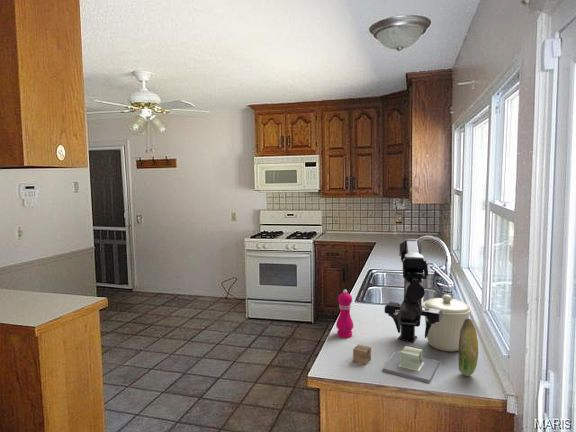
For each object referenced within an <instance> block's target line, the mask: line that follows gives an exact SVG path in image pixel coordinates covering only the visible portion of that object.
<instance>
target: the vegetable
mask: <svg viewBox="0 0 576 432" xmlns="http://www.w3.org/2000/svg"><path fill="white" fill-rule="evenodd" d="M457 352H458V370H459V373H460V374H461V375H463V376H465V377H469V376H472V375H473V374H474V373H475V371H476V368H477V365H478V359H479V338H478V334H477V329H476V327H475V325H474V322H473V320H472V319H471V318H470V317H469V318H466V319H465V320H464V323H463V325H462V327H461V330H460V338H459V349H458V351H457Z"/></svg>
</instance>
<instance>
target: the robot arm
mask: <svg viewBox="0 0 576 432" xmlns="http://www.w3.org/2000/svg"><path fill="white" fill-rule="evenodd" d="M398 249H399V250H398V251H399V252H398V256H400V262H401V263H402V278H403V301H401V304H400V303H399V302H395V301H394V302H393V301H390V302H388V303H387V304H386V305H385V306H384V310H383V311H384V313H385V314H387V316H389V317H391V318H392V320H393V322H394V325H395V329H396V330H397V333H398V334H400V335H399V336H398V337H397V340H399V341H405V342H410V343H414V342H415V341H416V340H417V338H418V335H415V334H416V327H419V326H421V318H422V317H425V316H427V320H426V322H425V328H424V329H425V330H424V339H427V335H428V332H429V330H430V328H431V325H432V324H435V323H436V322H439V321H440V320H441V318H442V311H441V310H439V309H432V308H430V309H429V311H425V309H424V310H423V303H422V302H423V300H422V299H423V298H424V297H425V293H426V289H425V287H424V284H423V280H428V279H427V276H429V267H428V266H429V265H428V262H427V260H426V259H425V258H424V255H423V254H422V244H421V243H420V242H419V239H417V238H406V239H404V241H403V242H401V243H400V244H399V247H398ZM421 316H422V317H421Z"/></svg>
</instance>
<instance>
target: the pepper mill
mask: <svg viewBox="0 0 576 432" xmlns="http://www.w3.org/2000/svg"><path fill="white" fill-rule="evenodd" d="M337 297H338V298H337V301H338V304H339V306H338V308H339V310H340V311H339V316H338V318H337V320H336V324H335V326H336V329H337V333H336V334H337V337H339V338H343V339H349V338H351V337H353V331H352V330H353V329H354V322H353V319H352V316H351V313H350V312H351V309H352V302H353V296H352V295H351V294H350V293H349V292H348V290H347V289H343V291H342V293H340V294H339V295H338V296H337Z"/></svg>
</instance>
